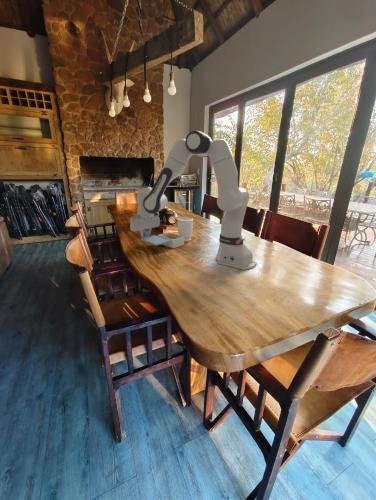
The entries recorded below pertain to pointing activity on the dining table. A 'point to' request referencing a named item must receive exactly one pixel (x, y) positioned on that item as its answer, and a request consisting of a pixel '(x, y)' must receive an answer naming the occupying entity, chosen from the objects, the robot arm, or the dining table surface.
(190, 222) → the jar
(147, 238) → the lid
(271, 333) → the dining table surface
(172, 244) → the tub
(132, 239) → the dining table surface
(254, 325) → the dining table surface
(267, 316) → the dining table surface
